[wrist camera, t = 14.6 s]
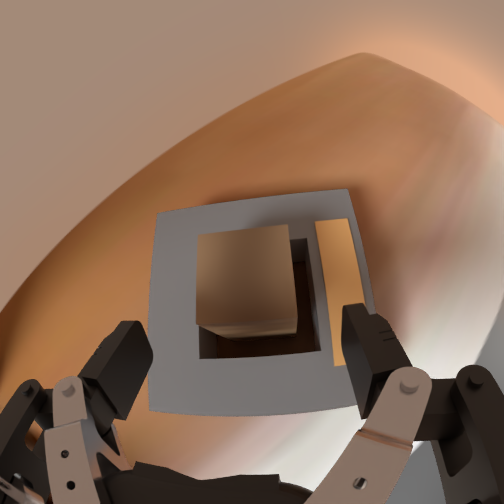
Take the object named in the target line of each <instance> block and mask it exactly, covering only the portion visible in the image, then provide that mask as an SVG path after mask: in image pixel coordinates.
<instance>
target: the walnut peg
mask: <svg viewBox="0 0 504 504" xmlns="http://www.w3.org/2000/svg"><path fill="white" fill-rule="evenodd" d="M297 319H298V315H297V304H296V294H295V284H294V275H293V266H292V257H291V248H290V240H289V232H288V224H286V225H277V226H267V227H258V228H250V229H241V230H232V231H224V232H216V233H208V234H200V235H198V242H197V270H196V324H197V325H199V326H201V327H203V328H205V329H207V330H209V331H211V332H214V333H216V334H218V335H220V336H222V337H225V338H227V339H229V340H231V341H247V340H263V339H276V338H287V337H296V330H297Z"/></svg>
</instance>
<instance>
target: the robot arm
mask: <svg viewBox="0 0 504 504" xmlns="http://www.w3.org/2000/svg"><path fill="white" fill-rule="evenodd" d="M341 347H342V353H343V356H344V359H345V363H346V366H347V369H348V373H349V376H350V380H351V383H352V387H353V390H354V394H355V398H356V401H357V405H358V409H359V412H360V416H361V420H362V419H367V420H366V422H365V424H364V425H363V427H362V428H361V430H358V431H357V432H356V433H355V435H354V436H353V438H352V439H351V441H350V442H349V444H348V446H347V447H346V449H345V450H344V452H343V453H342V455H341V456H340V458H339V459H338V460H337V462H336V463H335V465H334V466H333V467H332V469H331V470H330V472H329V473H328V474H327V476H326V477H325V478H324V480H323V481H322V482H321V483H320V485H319V486H318V487H317V488H316V490H315V491H314V492H312V491H310V490H308V489H306V488H303V487H301V486H298V485H294V484H290V483H284V482H281V481H280V477H279V474H272V475H236V476H230V477H223V478H216V479H208V480H197V479H194V478H192V477H189V476H186V475H184V474H181V473H178V472H176V471H173V470H171V469H169V468H166V467H160V466H155V465H150V464H146V463H141V462H137V461H136V463H135V466H134V468H133V469H132V468H131V466H130V465H129V463H128V462H127V460H126V457H125V454H124V451H123V449H122V446H121V443H120V440H119V437H118V434H117V431H116V428H115V426H114V424H113V423H112V422H113V420H114V418H115V419H120V420H125V421H126V419H127V416H128V414H129V412H130V410H131V407H132V405H133V403H134V401H135V399H136V397H137V394H138V392H139V390H140V388H141V386H142V384H143V382H144V379H145V377H146V375H147V373H148V371H149V369H150V367H151V365H152V362H153V350H152V348H151V345H150V343H149V341H148V338H147V336H146V333H145V331H144V328H143V326H142V324H141V323H140V322H139V321H121V322H120V323H119V325H118V326H117V327H116V329H115V330H114V331H113V332H112V333H111V334H110V335H108V336H107V337H106V338H105V339H104V340H103V341H102V342H101V344H100V345H99V346H98V348H97V349H96V351H95V352H94V355H92V356H91V358H90V359H89V360H88V362H87V363H86V365H85V366H84V367H83V369H82V370H81V372H80V373H79V375H78V376H77V377H76V376H69V377H66V378H64V379H62V380H60V381H59V382H58V383H57V384H56V385H55V387H54V389H43V387H42V386H41V385H40V383H39V382H38V381H37V380H35V379H30V380H27V381H25V382H23V383H22V384H21V385H20V386H19V387H18V389H17V390H16V392H15V393H14V395H13V396H12V397H11V399H10V400H9V402H8V403H7V405H6V406H5V408H4V409H3V411H2V412H1V414H0V504H46V502H47V499H48V496H49V494H50V491H51V494H52V499H53V504H385V503H386V501H387V499H388V497H389V496H390V494H391V492H392V490H393V489H394V487H395V485H396V483H397V481H398V479H399V477H400V475H401V473H402V471H403V469H404V467H405V465H406V463H407V461H408V459H409V456H410V454H411V451H412V448H413V445H412V443H413V441H431V445H432V448H433V451H434V455H435V458H436V462H437V466H438V469H439V473H440V477H441V481H442V486H443V490H444V495H445V500H446V504H504V395H503V393H502V391H501V390H500V388H499V386H498V384H497V383H496V381H495V379H494V378H493V376H492V375H491V373H490V372H489V371H488V370H487V369H486V368H484V367H482V366H479V365H468V366H465V367H463V368H462V369H461V370H460V371H459V372H458V374H457V376H456V378H452V379H431V378H430V377H429V375H428V374H427V373H426V372H425V371H423V370H421V369H419V368H416V367H413V366H412V364H411V362H410V360H409V359H408V357H407V355H406V353H405V351H404V349H403V348H402V346H401V344H400V342H399V340H398V339H397V338H396V335H395V333H394V332H393V331H392V328H391V327H390V325H389V323H388V321H387V320H386V319H384V318H383V317H381V316H380V315H379V314H371V315H369V313H368V311H367V309H366V307H365V305H364V304H363V303H356V304H349V305H343V308H342V326H341ZM34 420H35V421H36V422H37V424H38V425H39V426H40V427H41V428H42V429H43V431H42V433H41V435H40V437H39V439H38V441H37V443H36V445H35V447H34V449H33V451H30V450H29V449H28V448H27V446H26V445H25V442H24V438H25V435H26V433H27V431H28V430H29V428H30V426H31V424H32V423H33V421H34Z"/></svg>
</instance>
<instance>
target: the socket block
mask: <svg viewBox="0 0 504 504" xmlns="http://www.w3.org/2000/svg"><path fill="white" fill-rule="evenodd" d="M286 224H288V232H289V240H290V248H291V257H292V263H295V262H304V261H305V265H306V272H307V280H308V288H309V296H310V305H311V314H312V323H313V332H314V343H315V352H307V353H298V354H288V355H277V356H264V357H249V358H226V359H217V337H216V333H214V332H211V331H209V330H207V329H205V328H203V327H201V326H199V325H197V324H196V270H197V242H198V235H200V234H208V233H216V232H224V231H232V230H241V229H250V228H258V227H267V226H277V225H286ZM356 303H363V304H364V305H365V307H366V309H367V311H368V313H369V315H371V314H376V311H375V305H374V299H373V293H372V288H371V282H370V277H369V272H368V267H367V263H366V258H365V253H364V249H363V245H362V241H361V236H360V232H359V228H358V224H357V221H356V217H355V213H354V209H353V206H352V202H351V199H350V195H349V192H348V189H337V190H325V191H315V192H304V193H295V194H285V195H277V196H268V197H260V198H252V199H244V200H237V201H230V202H223V203H216V204H209V205H203V206H196V207H190V208H184V209H178V210H172V211H167V212H161V213H157V220H156V228H155V236H154V245H153V255H152V266H151V278H150V293H149V313H148V341H149V343H150V345H151V348H152V350H153V362H152V365H151V367H150V369H149V371H148V392H149V411H155V412H164V413H174V414H185V415H200V416H270V415H285V414H297V413H307V412H315V411H323V410H330V409H337V408H343V407H349V406H354V405H357V401H356V398H355V394H354V390H353V387H352V383H351V380H350V376H349V373H348V369H347V366H346V363H345V359H344V356H343V353H342V347H341V326H342V308H343V305H349V304H356Z"/></svg>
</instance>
